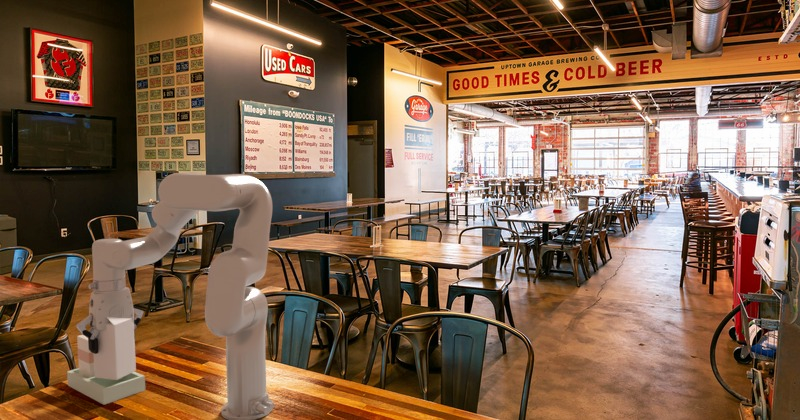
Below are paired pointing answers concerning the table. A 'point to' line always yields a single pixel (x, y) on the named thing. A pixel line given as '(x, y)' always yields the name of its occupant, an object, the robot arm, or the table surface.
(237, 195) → the robot arm
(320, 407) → the table surface
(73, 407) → the table surface
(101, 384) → the crate
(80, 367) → the oat carton
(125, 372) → the milk carton
